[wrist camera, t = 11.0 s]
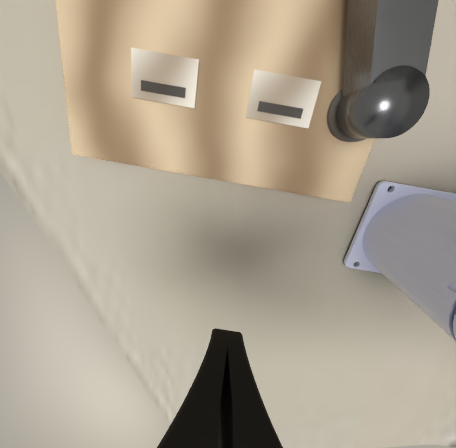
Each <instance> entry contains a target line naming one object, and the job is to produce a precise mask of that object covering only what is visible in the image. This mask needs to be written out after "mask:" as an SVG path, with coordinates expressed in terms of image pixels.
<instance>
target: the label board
mask: <svg viewBox="0 0 456 448" xmlns="http://www.w3.org/2000/svg"><path fill="white" fill-rule="evenodd" d="M55 1H56V10H57V20H58V29H59V38H60V47H61V57H62V66H63V75H64V85H65V94H66V103H67V112H68V122H69V131H70V140H71V149H72V154H73V155H79V156H85V157H91V158H96V159H102V160H108V161H114V162H119V163H125V164H131V165H136V166H142V167H148V168H154V169H159V170H165V171H171V172H177V173H182V174H188V175H194V176H199V177H205V178H211V179H217V180H222V181H228V182H234V183H240V184H245V185H251V186H257V187H262V188H268V189H274V190H280V191H285V192H291V193H297V194H303V195H308V196H314V197H320V198H325V199H331V200H337V201H343V202H348V203H350V202H351V199H352V197H353V194H354V192H355V189H356V186H357V184H358V181H359V179H360V176H361V174H362V171H363V169H364V166H365V164H366V161H367V158H368V156H369V153H370V151H371V148H372V146H373V143H374V141H375V138H367V139H353V138H349V137H347V136H345V135H344V134H343V133H342V132H341V131H340V130H339V128H338V126H337V122H336V111H337V107H338V104H339V102H340V100H341V98H342V97H343V81H344V63H345V46H346V28H347V10H348V0H55Z"/></svg>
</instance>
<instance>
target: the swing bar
mask: <svg viewBox="0 0 456 448" xmlns="http://www.w3.org/2000/svg"><path fill="white" fill-rule="evenodd" d="M437 5H438V0H348V10H347V28H346V46H345V63H344V81H343V97H342V98H341V100H340V102H339V104H338V107H337V111H336V122H337V126H338V128H339V130H340V131H341V132H342V133H343V134H344V135H345V136H347V137H349V138H353V139H367V138H391V137H395V136H398V135H401V134H403V133H404V132H406V131H408V130H409V129H410V128H411V127H413V126H414V125H415V124H416V123H417V122H418V120H419V119H420V118H421V116H422V115H423V113H424V111H425V109H426V106H427V104H428V100H429V84H428V81H427V78H426V76H425V75H426V69H427V63H428V57H429V51H430V46H431V40H432V34H433V28H434V23H435V17H436V11H437Z"/></svg>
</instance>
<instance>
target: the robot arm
mask: <svg viewBox="0 0 456 448" xmlns="http://www.w3.org/2000/svg"><path fill="white" fill-rule="evenodd" d="M390 186H391V189H390V190H389V191H387V189H388V187H390ZM355 262H357V263H356V264H354V263H355ZM344 264H345V266H346V267H348V268H353V269H359V270H365V271H370V272H376V273H382V274H384V275H385V276H386V277H387V278H388V279H389V280H390V281H391V282H392V283H393V284H394V285H395V286H397V287H398V288H399V289H400V290H401V291H402V292H403V293H404V294H405V295H406V296H407V297H408V298H409V299H410V300H412V301H413V302H414V303H415V304H416V305H417V306H418V307H419V308H420V309H421V310H422V311H423V312H424V313H425V314H427V315H428V316H429V317H430V318H431V319H432V320H433V321H434V322H435V323H436V324H437V325H438V326H439V327H440V328H442V329H443V330H444V331H445V332H446V333H447V334H448V335H449V336H450V337H451V338H452V339H453V340H454V341H456V193H451V192H445V191H439V190H434V189H428V188H422V187H417V186H411V185H405V184H400V183H394V182H388V181H381V182H379V183H378V184H377V185H376V187H375V189H374V192H373V194H372V196H371V199H370V201H369V203H368V206H367V208H366V210H365V213H364V215H363V217H362V220H361V222H360V224H359V227H358V229H357V231H356V234H355V236H354V238H353V241H352V243H351V245H350V248H349V250H348V252H347V255H346V257H345V259H344ZM157 448H283V447H282V445H281V443H280V441H279V439H278V436H277V434H276V432H275V430H274V428H273V425H272V423H271V421H270V418H269V416H268V414H267V411H266V409H265V406H264V404H263V401H262V399H261V396H260V393H259V391H258V388H257V385H256V382H255V379H254V376H253V374H252V371H251V367H250V364H249V361H248V357H247V354H246V350H245V346H244V342H243V337H242V334H241V333H240V332H234V331H228V330H221V329H213V330H212V335H211V339H210V343H209V346H208V349H207V352H206V355H205V357H204V360H203V362H202V364H201V367H200V369H199V371H198V374H197V376H196V378H195V380H194V382H193V384H192V386H191V388H190V390H189V392H188V394H187V396H186V398H185V400H184V402H183V404H182V406H181V408H180V409H179V411H178V413H177V415H176V417H175V418H174V420H173V422H172V424H171V425H170V427H169V429H168V431H167V432H166V434H165V435H164V437H163V439H162V440H161V442H160V444H159V445H158V447H157Z"/></svg>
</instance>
